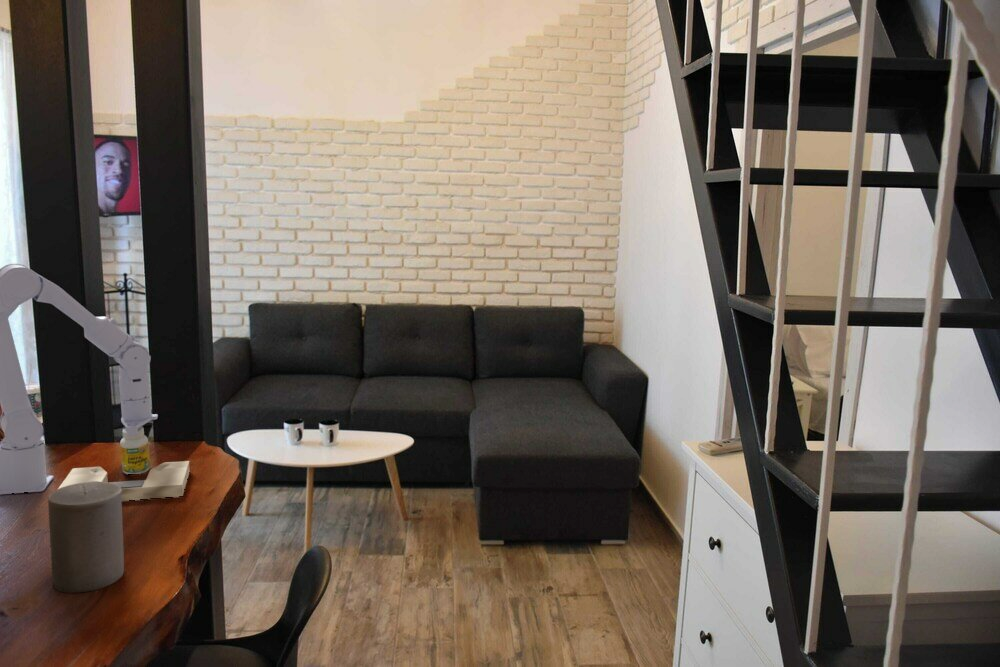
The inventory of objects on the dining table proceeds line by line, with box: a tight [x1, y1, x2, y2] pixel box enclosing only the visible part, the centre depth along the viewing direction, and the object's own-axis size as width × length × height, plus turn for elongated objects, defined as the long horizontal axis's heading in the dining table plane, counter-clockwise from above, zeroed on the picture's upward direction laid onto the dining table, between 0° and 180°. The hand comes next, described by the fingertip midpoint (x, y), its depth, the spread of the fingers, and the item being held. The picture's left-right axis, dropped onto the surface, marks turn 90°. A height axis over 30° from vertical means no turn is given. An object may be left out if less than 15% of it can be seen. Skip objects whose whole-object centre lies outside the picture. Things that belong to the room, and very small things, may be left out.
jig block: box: [57, 460, 191, 502], centre depth 145 cm, size 22×14×3 cm, turn 108°
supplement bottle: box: [119, 426, 151, 475], centre depth 153 cm, size 5×5×10 cm
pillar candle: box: [47, 481, 125, 594], centre depth 109 cm, size 10×10×15 cm
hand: (140, 457), depth 157 cm, fingers closed, pressing on supplement bottle
